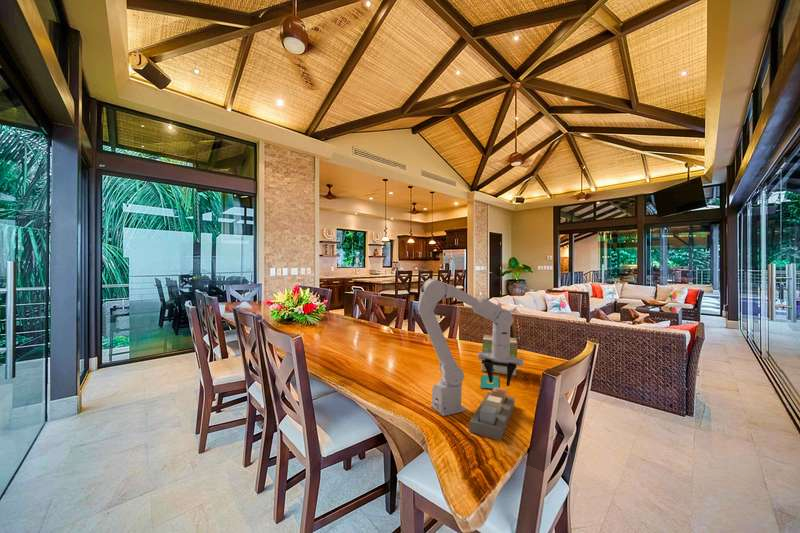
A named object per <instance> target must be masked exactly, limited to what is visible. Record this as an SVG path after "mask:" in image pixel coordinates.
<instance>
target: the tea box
mask: <svg viewBox="0 0 800 533" xmlns="http://www.w3.org/2000/svg"><path fill="white" fill-rule="evenodd" d="M481 346H482V349H481V350H482V351H481V353H491V354H492V335H489V334H483V338H482V344H481ZM509 356H511V357H514V358H518V340H517V338H516V337H510V352H509ZM480 366H481V372H487V370H486V368H485V366H484V360H483V359H482V360H481V365H480ZM507 366H508V364H507V363H501V362H495V361H494V363H493V373H497V374H501V375H502V374H503V375H507ZM517 366H518V365H517ZM517 366H516V368H515V370H514V372H513V374H512V376H514V375H515V376H517Z"/></svg>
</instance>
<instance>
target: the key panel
mask: <svg viewBox="0 0 800 533" xmlns="http://www.w3.org/2000/svg"><path fill="white" fill-rule="evenodd" d="M489 395H490V396H492V391H491V392H490V391H488V392H487V393H486V395H485V396H484V398H483V400H482V402H481V403H480V404H479V406H478V407H477V409H476V410H475V412H474V414H473V416H472V417H471V419H470V420H469V424H468V426H469V429H468V432H469V433H473V434H476V435H479V436H483V437H486V438H491V439H495V440H498V441H502V439H503V436H504V435H505V431H506V429H507V426H508V423H509V420H510V419H511V416H512V413H513V411H514V408H515V403H516V402H515V400H516V397H513V396H509V395H508V396H507V395H506V403H505V404H504V403H502V412H501V414H499V413H497V421H496V425H495V426H494V425H491V424H487V423H483V422H480V410H481V408H482V407H483V405H485V406H486V401H487V398H488V397H489Z"/></svg>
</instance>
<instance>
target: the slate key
mask: <svg viewBox="0 0 800 533" xmlns="http://www.w3.org/2000/svg"><path fill="white" fill-rule="evenodd" d="M496 421H497V408H494V407H490V406H485V405H483V407H482V408H481V410H480V422H483V423H487V424H491V425H494V426H495V425H496Z"/></svg>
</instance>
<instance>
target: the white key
mask: <svg viewBox="0 0 800 533" xmlns="http://www.w3.org/2000/svg"><path fill="white" fill-rule="evenodd" d="M486 406H490V407H494V408H497V413H499V414H501V412H502V398H499V397H495V396H490V395H489V397H488V398H487V401H486Z"/></svg>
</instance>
